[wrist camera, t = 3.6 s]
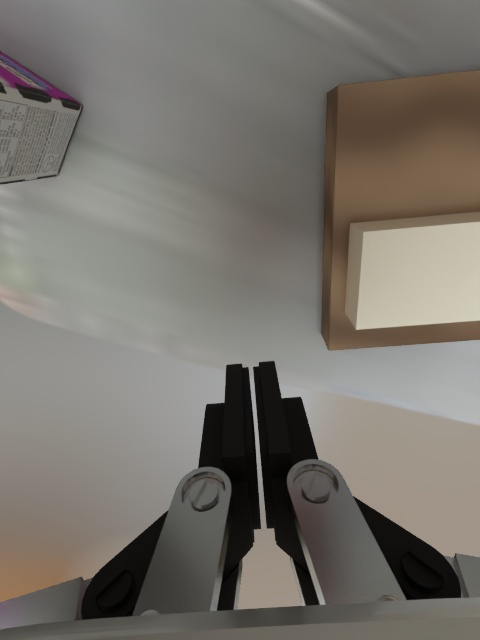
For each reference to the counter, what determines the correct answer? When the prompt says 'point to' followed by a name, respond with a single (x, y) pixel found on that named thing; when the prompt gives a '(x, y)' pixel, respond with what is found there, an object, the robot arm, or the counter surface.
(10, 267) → the counter surface
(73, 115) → the candy bar box
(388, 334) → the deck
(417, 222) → the tile
